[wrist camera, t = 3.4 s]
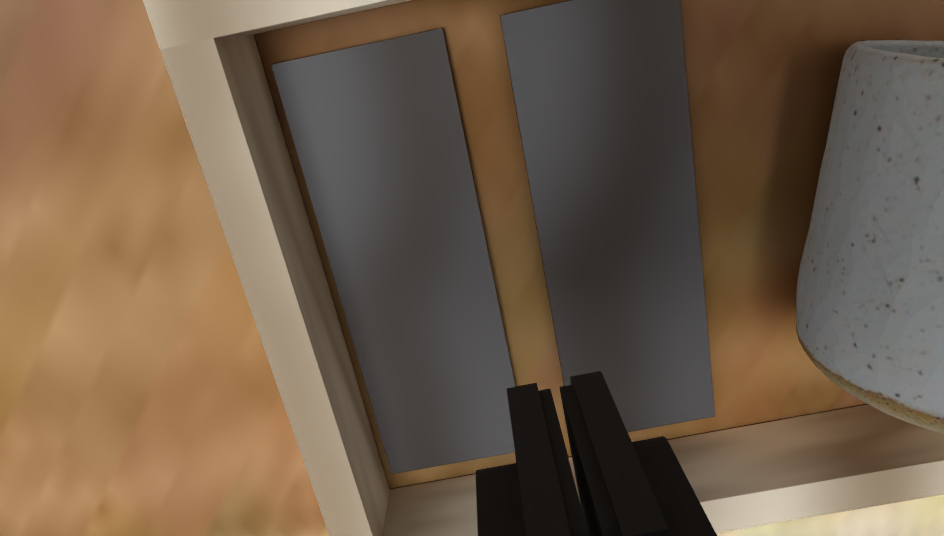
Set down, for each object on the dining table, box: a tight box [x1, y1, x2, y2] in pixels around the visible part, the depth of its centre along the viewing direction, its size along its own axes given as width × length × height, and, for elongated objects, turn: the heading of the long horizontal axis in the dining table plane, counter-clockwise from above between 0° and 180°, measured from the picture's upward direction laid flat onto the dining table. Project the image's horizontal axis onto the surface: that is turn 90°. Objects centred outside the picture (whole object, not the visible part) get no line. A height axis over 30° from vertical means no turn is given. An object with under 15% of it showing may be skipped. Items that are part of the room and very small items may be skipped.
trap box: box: [143, 0, 944, 536], centre depth 18 cm, size 32×17×3 cm, turn 101°
